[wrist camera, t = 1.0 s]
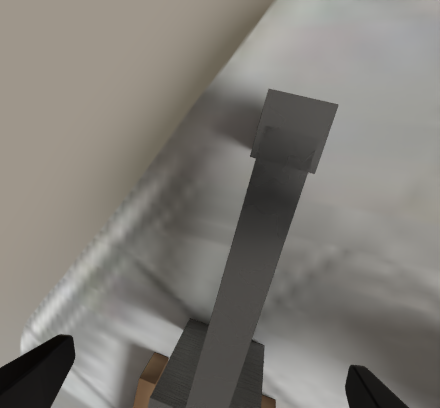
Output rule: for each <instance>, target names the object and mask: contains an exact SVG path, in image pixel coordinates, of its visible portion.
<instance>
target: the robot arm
mask: <svg viewBox="0 0 440 408" xmlns="http://www.w3.org/2000/svg"><path fill="white" fill-rule="evenodd" d="M74 360H75V348H74V341H73V337H72V336H71V335H63V334H60V335H57V336H55V337H53V338H52V339H50V340H48V341H46V342H45V343H43V344H41V345H39V346H38V347H36V348H34V349H32V350H31V351H29V352H27V353H25V354H24V355H22V356H20V357H18V358H17V359H15V360H13V361H12V362H10V363H8V364H6V365H4V366H3V367H1V368H0V408H50V407H51V406H52V404H53V402H54V400H55V398H56V396H57V394H58V392H59V390H60V388H61V386H62V384H63V382H64V380H65V378H66V376H67V375H68V373H69V371H70V369H71V367H72V365H73V363H74ZM345 391H346V396H347V400H348V404H349V408H409V407H408V406H407V405H405V404H404V403H403V402H402V401H401V400H400V399H399V398H398V397H397V396H396V395H395V394H394V393H393V392H392V391H391V390H390V389H389V388H388V387H386V386H385V385H384V384H383V383H382V382H381V381H380V380H379V379H378V378H377V377H376V376H375V375H374V374H373V373H372V372H371V371H370V370H368V369H367V368H366V367H365V366H361V365H351V366H350V367H349V370H348V375H347V380H346V384H345Z"/></svg>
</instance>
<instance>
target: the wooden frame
mask: <svg viewBox="0 0 440 408" xmlns="http://www.w3.org/2000/svg"><path fill="white" fill-rule="evenodd" d="M168 360H169V358H168V357H165V356H163V355H160V354H158V353H154V354H153V356H152V358H151V359H150V361H149V363H148V364H147V366H146V368H145V369H144V371H143V373H142V375H141V376H140V378H139V382H138V387H137V391H136V396H135V401H134V405H133V408H148V403H149V399H150V396H151V394H152V392H153V390H154V388H155V386H156V384H157V383H158V381H159V379H160V377H161V375H162V373H163V371H164V369H165V367H166V365H167V363H168ZM261 408H276V400H274V399H271V398H269V397H266V396H264V395H262V402H261Z"/></svg>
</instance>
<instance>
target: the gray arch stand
mask: <svg viewBox="0 0 440 408" xmlns="http://www.w3.org/2000/svg"><path fill="white" fill-rule="evenodd" d="M337 108H338V104H334V103H329V102H325V101H321V100H316V99H312V98H307V97H303V96H299V95H294V94H290V93H285V92H281V91H277V90H272V89H268V93H267V97H266V100H265V104H264V108H263V111H262V115H261V118H260V122H259V126H258V129H257V133H256V136H255V140H254V144H253V147H252V151H251V155H250V157H253V158H256V161H255V164H254V168H253V171H252V175H251V178H250V182H249V186H248V189H247V193H246V196H245V200H244V203H243V207H242V210H241V214H240V217H239V221H238V224H237V228H236V231H235V235H234V239H233V242H232V246H231V249H230V253H229V256H228V260H227V263H226V267H225V270H224V274H223V277H222V281H221V284H220V288H219V292H218V295H217V299H216V302H215V306H214V309H213V313H212V316H211V320H210V323H209V325H207V324H204V323H202V322H199V321H196V320H193V319H191V318H190V319H189V321H188V323H187V325H186V327H185V329H184V331H183V333H182V335H181V337H180V339H179V341H178V343H177V345H176V347H175V349H174V351H173V353H172V355H171V357H170V359H169V361H168V363H167V365H166V367H165V369H164V371H163V373H162V375H161V377H160V379H159V381H158V383H157V384H156V386H155V388H154V390H153V392H152V394H151V396H150V399H149V403H148V408H261V402H262V383H263V364H264V345H261V344H259V343H256V342H253V341H251V340H252V337H253V334H254V331H255V328H256V325H257V322H258V319H259V316H260V313H261V310H262V307H263V304H264V302H265V299H266V296H267V293H268V290H269V287H270V284H271V281H272V278H273V275H274V272H275V269H276V266H277V263H278V260H279V257H280V254H281V251H282V248H283V245H284V242H285V239H286V236H287V233H288V230H289V227H290V224H291V221H292V218H293V215H294V213H295V210H296V207H297V204H298V201H299V198H300V195H301V192H302V189H303V186H304V183H305V180H306V177H307V174H308V172H309V173H313V174H315V172H316V169H317V166H318V163H319V160H320V157H321V154H322V152H323V149H324V146H325V143H326V140H327V137H328V134H329V131H330V128H331V125H332V123H333V120H334V117H335V114H336V111H337Z"/></svg>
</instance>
